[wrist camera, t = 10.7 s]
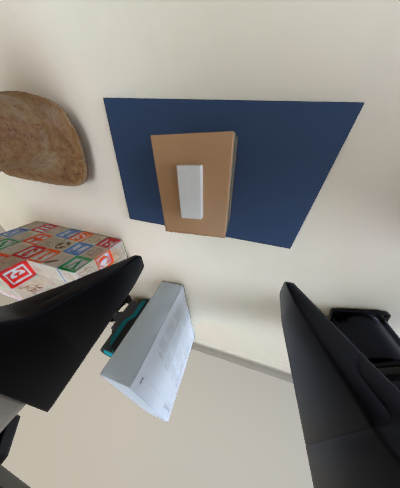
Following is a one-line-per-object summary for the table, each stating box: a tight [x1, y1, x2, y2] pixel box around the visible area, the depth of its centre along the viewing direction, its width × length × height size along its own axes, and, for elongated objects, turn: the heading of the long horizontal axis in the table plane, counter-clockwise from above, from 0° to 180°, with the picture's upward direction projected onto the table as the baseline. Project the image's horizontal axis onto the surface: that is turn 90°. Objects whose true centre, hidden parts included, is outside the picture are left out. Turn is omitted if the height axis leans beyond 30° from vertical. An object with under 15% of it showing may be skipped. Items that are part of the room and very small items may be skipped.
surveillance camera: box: [101, 295, 150, 357], centre depth 33 cm, size 6×12×10 cm
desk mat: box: [103, 98, 364, 249], centre depth 17 cm, size 24×14×1 cm, turn 88°
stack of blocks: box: [0, 221, 127, 300], centre depth 26 cm, size 21×6×12 cm, turn 89°
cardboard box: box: [151, 131, 238, 238], centre depth 15 cm, size 6×8×6 cm
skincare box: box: [100, 282, 195, 422], centre depth 29 cm, size 21×5×16 cm, turn 7°
